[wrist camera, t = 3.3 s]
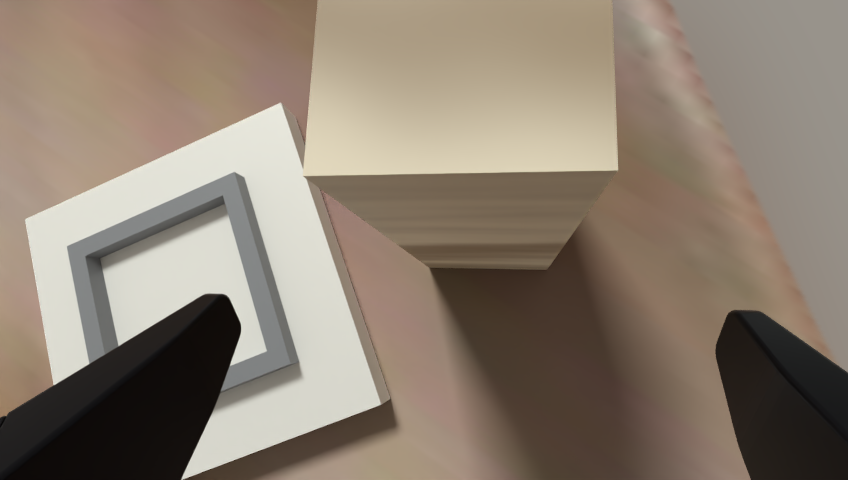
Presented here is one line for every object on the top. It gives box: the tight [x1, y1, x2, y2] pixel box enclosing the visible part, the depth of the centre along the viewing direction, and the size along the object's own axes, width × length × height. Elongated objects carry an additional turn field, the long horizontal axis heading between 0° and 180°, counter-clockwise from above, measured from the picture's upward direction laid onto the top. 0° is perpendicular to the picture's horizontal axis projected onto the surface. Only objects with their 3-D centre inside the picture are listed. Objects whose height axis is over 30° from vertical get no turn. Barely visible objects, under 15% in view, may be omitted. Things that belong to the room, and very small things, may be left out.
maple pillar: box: [303, 0, 618, 270], centre depth 14 cm, size 5×5×13 cm
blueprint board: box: [25, 103, 390, 480], centre depth 21 cm, size 14×14×2 cm
